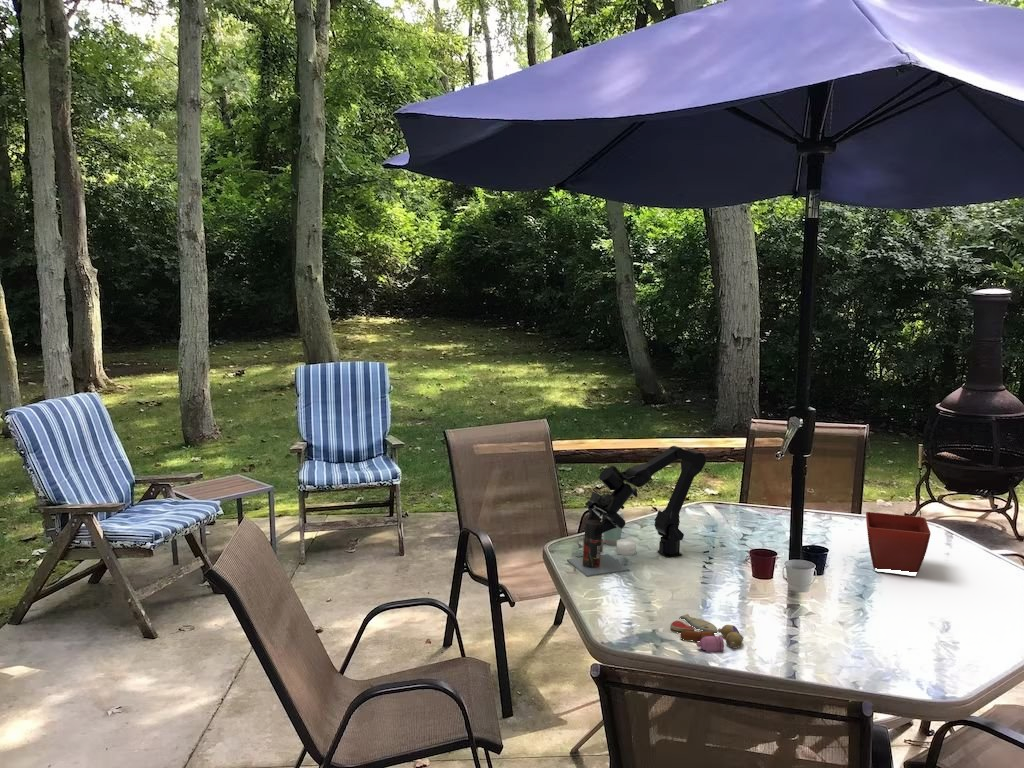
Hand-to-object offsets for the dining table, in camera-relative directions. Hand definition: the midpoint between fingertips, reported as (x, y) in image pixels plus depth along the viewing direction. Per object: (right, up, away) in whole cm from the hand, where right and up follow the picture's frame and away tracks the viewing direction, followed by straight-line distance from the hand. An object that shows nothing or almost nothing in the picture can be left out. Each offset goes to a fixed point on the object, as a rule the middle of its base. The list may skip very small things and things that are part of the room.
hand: (589, 532), depth 277 cm
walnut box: (+3, -10, +18) cm, 21 cm away
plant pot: (+105, -13, +2) cm, 106 cm away
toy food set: (+28, -21, -52) cm, 63 cm away
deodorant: (+1, -12, +2) cm, 12 cm away
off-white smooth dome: (+15, -10, +17) cm, 25 cm away
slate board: (+3, -12, +3) cm, 13 cm away
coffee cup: (+11, -9, +27) cm, 31 cm away
